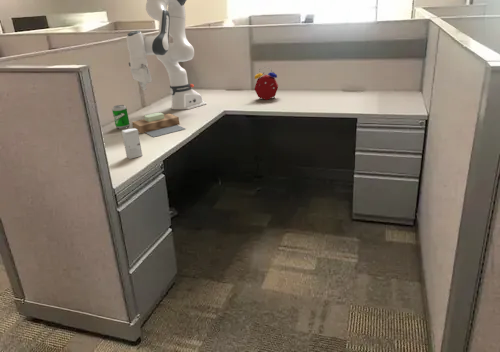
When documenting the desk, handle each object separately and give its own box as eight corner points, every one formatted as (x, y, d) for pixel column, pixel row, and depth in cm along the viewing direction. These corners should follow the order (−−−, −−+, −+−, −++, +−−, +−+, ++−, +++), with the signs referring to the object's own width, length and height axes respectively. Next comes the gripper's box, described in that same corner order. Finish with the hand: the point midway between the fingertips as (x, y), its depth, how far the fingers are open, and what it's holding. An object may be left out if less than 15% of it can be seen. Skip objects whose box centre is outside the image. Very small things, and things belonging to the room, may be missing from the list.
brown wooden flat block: (170, 120, 237) (169, 113, 235) (179, 124, 228) (178, 117, 226) (133, 129, 226) (131, 121, 225) (141, 133, 217) (139, 126, 215)
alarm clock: (278, 97, 269) (277, 65, 261) (278, 100, 261) (276, 67, 253) (256, 98, 271) (253, 66, 263) (254, 101, 263) (252, 69, 255)
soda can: (121, 125, 236) (117, 104, 231) (132, 125, 233) (128, 104, 228) (113, 129, 229) (108, 107, 224) (124, 129, 226) (120, 108, 222)
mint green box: (160, 116, 231) (159, 112, 230) (164, 118, 226) (163, 114, 225) (144, 119, 226) (143, 115, 225) (148, 122, 222) (148, 117, 221)
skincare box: (129, 159, 181) (124, 132, 177) (126, 156, 185) (120, 130, 180) (143, 155, 184) (138, 129, 180) (139, 153, 188) (134, 127, 183)
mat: (176, 125, 226) (176, 124, 226) (185, 129, 218) (185, 128, 218) (145, 132, 217) (145, 132, 217) (153, 137, 209) (153, 136, 209)
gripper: (152, 64, 215) (156, 90, 220) (138, 61, 231) (142, 86, 236) (140, 66, 212) (145, 93, 217) (127, 63, 228) (132, 88, 233)
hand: (143, 89), depth 227 cm, fingers closed
